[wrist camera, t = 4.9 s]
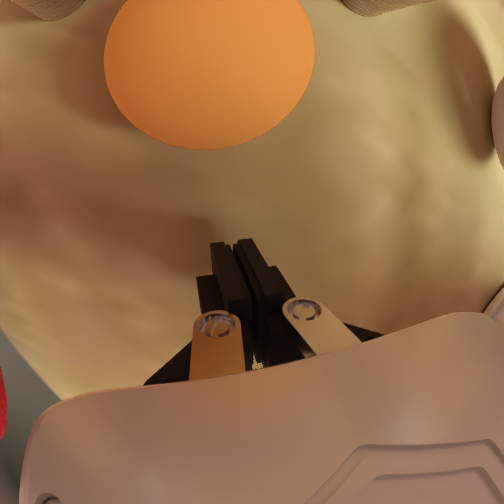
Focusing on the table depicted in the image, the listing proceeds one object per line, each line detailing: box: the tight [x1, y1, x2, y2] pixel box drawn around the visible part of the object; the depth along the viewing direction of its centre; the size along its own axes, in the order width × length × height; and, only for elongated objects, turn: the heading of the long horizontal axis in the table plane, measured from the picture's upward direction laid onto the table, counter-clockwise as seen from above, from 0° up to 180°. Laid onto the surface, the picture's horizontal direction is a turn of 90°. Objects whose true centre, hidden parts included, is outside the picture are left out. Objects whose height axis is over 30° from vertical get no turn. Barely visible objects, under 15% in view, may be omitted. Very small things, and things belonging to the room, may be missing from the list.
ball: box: [104, 0, 315, 150], centre depth 7 cm, size 6×6×6 cm
